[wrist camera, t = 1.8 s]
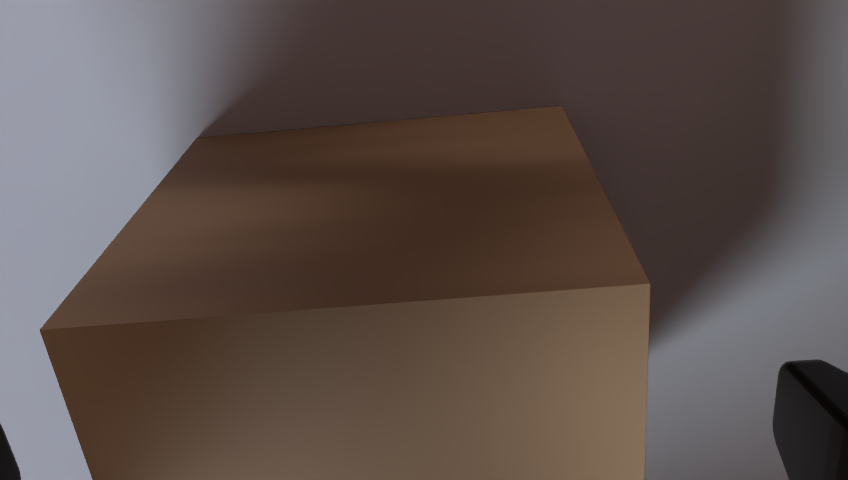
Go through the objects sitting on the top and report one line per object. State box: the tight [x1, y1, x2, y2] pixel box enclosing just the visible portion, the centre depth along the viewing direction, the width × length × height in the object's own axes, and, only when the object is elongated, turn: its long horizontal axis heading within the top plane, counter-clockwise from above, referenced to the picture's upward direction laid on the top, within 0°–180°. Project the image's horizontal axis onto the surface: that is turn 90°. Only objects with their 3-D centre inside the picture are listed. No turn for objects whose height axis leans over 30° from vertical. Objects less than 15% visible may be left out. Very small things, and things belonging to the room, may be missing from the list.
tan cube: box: [40, 106, 650, 480], centre depth 10 cm, size 5×5×5 cm
